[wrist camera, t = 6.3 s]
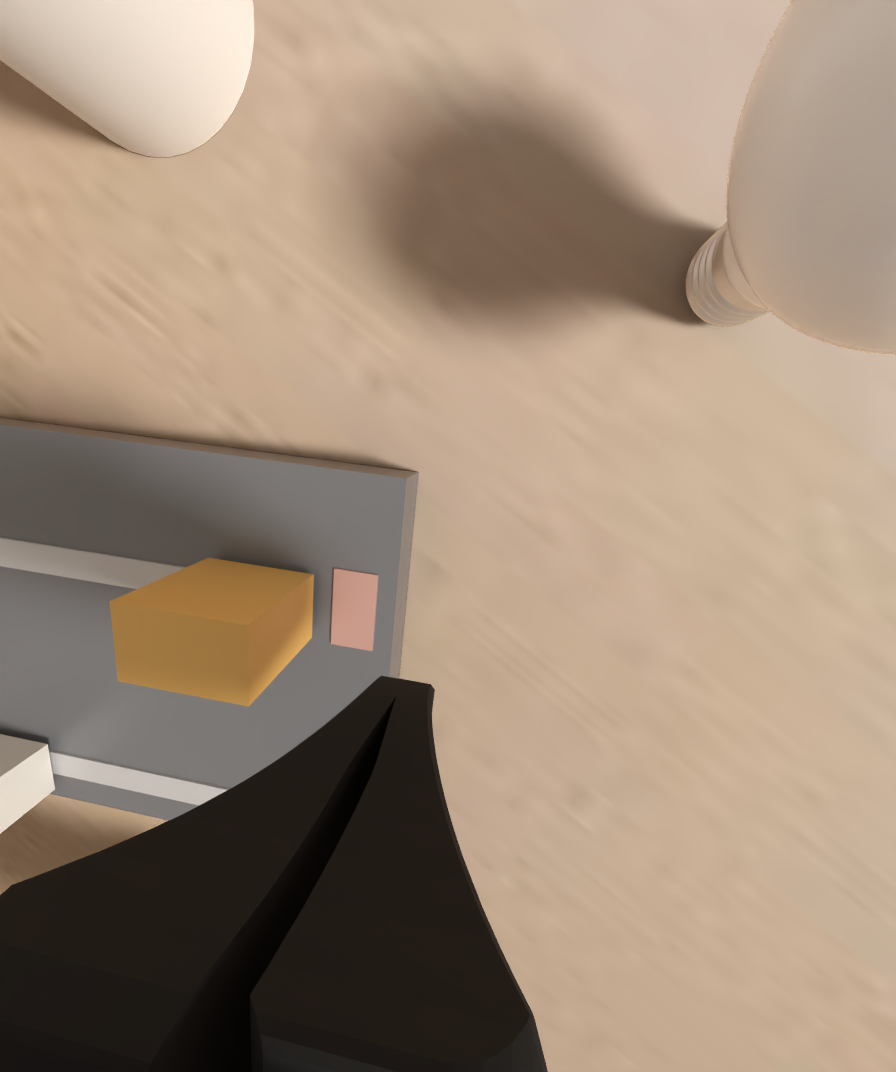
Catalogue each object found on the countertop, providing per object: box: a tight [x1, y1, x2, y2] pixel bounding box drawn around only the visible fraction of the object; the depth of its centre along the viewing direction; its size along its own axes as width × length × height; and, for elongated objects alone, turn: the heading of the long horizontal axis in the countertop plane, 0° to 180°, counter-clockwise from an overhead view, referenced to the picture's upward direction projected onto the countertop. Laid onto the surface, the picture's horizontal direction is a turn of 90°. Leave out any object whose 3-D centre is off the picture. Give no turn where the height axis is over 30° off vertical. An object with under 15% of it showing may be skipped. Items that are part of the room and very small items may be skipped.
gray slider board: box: [0, 418, 418, 820], centre depth 18 cm, size 17×24×2 cm
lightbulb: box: [686, 0, 896, 355], centre depth 8 cm, size 6×6×11 cm
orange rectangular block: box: [109, 558, 314, 707], centre depth 14 cm, size 2×4×4 cm, turn 83°
